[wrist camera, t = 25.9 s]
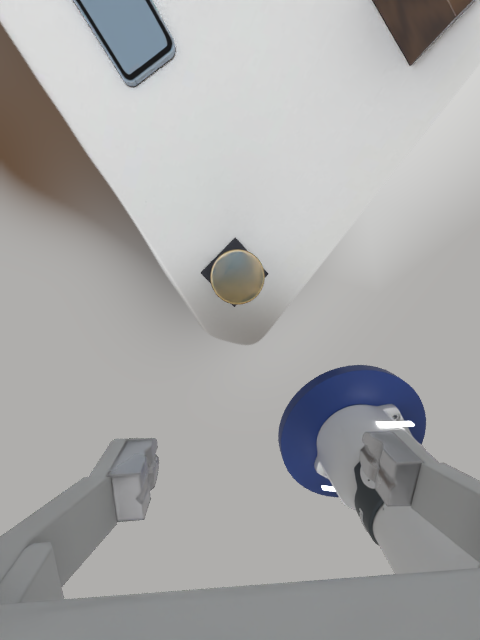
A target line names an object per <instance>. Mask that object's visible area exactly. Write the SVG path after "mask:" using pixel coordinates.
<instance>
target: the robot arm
mask: <svg viewBox="0 0 480 640" xmlns="http://www.w3.org/2000/svg"><path fill="white" fill-rule="evenodd" d="M407 426H414V424H413V423H412V422H411V421H404V419H403V417H402V415H401V413H400V411H399V410H398V408H397V407H396V406H395V405H393V404H386V405H381V406H371V405H352V406H349V407H346V408H343V409H341V410H339V411H337V412H336V413H334V414H333V415H332V416H330V417H329V418H328V419H327V420H326V421H325V423H324V424H323V425H322V427H321V429H320V431H319V433H318V436H317V457H316V460H315V463H314V468H315V470H316V471H317V473H318V474H320V475H322V476H324V477H325V478H327V479H329V480H330V482H331V484H332V486H333V487H332V486H323V485H322V489H323V490H327V491H335V492H336V493H337V495H338V496H339V498H340V500H341V501H342V503H343V504H344V505H347V506H348V507H350V508H351V509H354V510H356V511H357V513H358V515H359V517H360V519H361V522H362V524H363V525H364V527H365V529H366V530H367V532H368V533H369V534H370V536H371V537H372V539H373V541H374V542H375V543H376V544H377V545H379V546H380V548H381V549H382V551H383V553H384V555H385V557H386V559H387V560H388V562H389V564H390V566H391V568H392V569H393V571H394V573H395V574H393V575H380V576H369V577H354V578H342V579H330V580H315V581H302V582H288V583H276V584H263V585H249V586H236V587H222V588H210V589H197V590H182V591H169V592H156V593H144V594H130V595H116V596H104V597H91V598H78V599H64V596H63V591H62V586H63V585H64V584H65V583H66V582H67V581H68V579H69V578H70V577H71V576H72V575H73V574H74V572H75V571H76V570H77V569H78V568H79V567H80V566H81V565H82V563H83V562H84V561H85V560H86V559H87V558H88V557H89V555H90V554H91V553H92V552H93V551H94V550H95V548H96V547H97V546H98V545H99V544H100V543H101V542H102V541H103V539H104V538H105V537H106V536H107V535H108V534H109V533H110V531H111V530H112V529H113V528H114V527H115V526H116V525H117V522H123V521H135V520H144V519H145V516H146V512H147V509H148V506H149V503H150V500H151V497H150V491H151V490H152V489H153V488H154V487H155V484H156V480H157V475H158V468H159V459H158V456H157V455H156V454H155V453H156V450H157V447H158V446H157V440H156V439H155V438H145V439H144V438H134V439H133V438H129V439H114V440H113V441H111V443H110V444H109V446H108V447H107V449H106V451H105V452H104V454H103V455H102V457H101V458H100V460H99V461H98V463H97V465H96V466H95V468H94V470H93V471H92V472H91V474H90V476H89V477H86V478H82V479H81V480H80V481H78V482H77V483H75V484H74V485H73V486H71V487H70V488H68V489H67V490H65V492H63V493H61V494H60V495H58V496H57V497H56V498H54V499H53V500H51V501H50V502H48V503H47V504H46V505H44V506H43V507H42V508H40V509H39V510H37V511H36V512H34V513H33V514H32V515H30V516H29V517H27V518H26V519H24V520H23V521H22V522H20V523H19V524H17V525H16V526H15V527H13V528H12V529H10V530H9V531H8V532H6V533H5V534H3V535H2V536H0V640H480V481H479V480H477V479H475V478H473V477H471V476H469V475H467V474H465V473H463V472H461V471H459V470H457V469H455V468H453V467H451V466H449V465H447V464H445V463H439V462H438V461H437V460H436V459H435V458H434V457H433V456H432V455H430V454H429V453H428V452H427V451H426V449H425V448H424V447H423V446H422V445H421V444H420V443H418V442H417V441H416V440H415V439H414V438H413V436H412V434H411V432H410V430H409V428H408V427H407Z"/></svg>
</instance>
